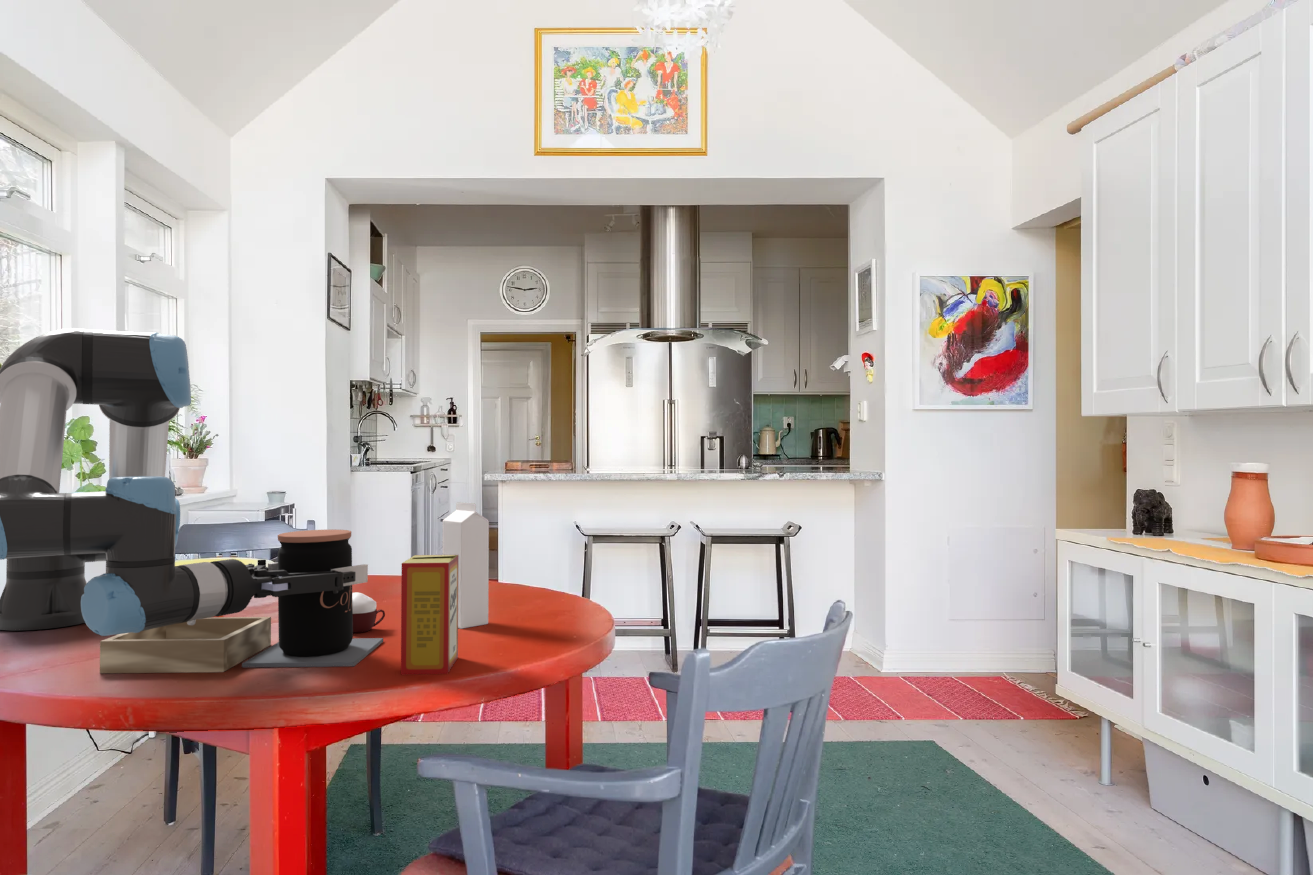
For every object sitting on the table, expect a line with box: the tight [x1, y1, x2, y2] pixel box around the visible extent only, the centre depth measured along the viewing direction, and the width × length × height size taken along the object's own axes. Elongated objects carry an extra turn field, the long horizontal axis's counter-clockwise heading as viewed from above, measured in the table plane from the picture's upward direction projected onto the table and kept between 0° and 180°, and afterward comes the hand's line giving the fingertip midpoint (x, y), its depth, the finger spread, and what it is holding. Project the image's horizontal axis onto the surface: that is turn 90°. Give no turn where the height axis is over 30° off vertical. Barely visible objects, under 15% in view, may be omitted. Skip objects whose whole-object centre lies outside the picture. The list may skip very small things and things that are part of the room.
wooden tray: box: [99, 616, 272, 674], centre depth 130 cm, size 17×17×4 cm
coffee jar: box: [277, 529, 354, 657], centre depth 133 cm, size 11×11×18 cm
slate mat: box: [241, 637, 384, 668], centre depth 133 cm, size 16×16×1 cm
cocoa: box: [352, 592, 386, 634], centre depth 150 cm, size 10×6×12 cm, turn 94°
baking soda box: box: [400, 554, 459, 676], centre depth 126 cm, size 10×6×16 cm
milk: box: [442, 501, 490, 629], centre depth 156 cm, size 6×6×22 cm
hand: (334, 570), depth 136 cm, fingers open, 13 cm apart
